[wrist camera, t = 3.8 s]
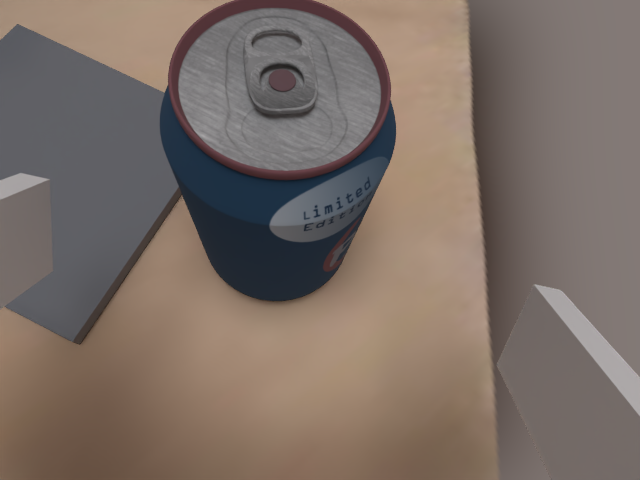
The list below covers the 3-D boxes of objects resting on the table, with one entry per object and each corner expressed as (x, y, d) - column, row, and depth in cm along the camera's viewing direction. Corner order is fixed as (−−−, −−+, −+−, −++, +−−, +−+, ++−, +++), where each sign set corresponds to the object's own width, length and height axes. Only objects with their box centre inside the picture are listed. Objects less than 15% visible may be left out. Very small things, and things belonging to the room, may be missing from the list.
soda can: (354, 298, 22) (441, 184, 11) (211, 315, 21) (142, 209, 10) (332, 174, 24) (386, -25, 13) (203, 184, 23) (140, -22, 12)
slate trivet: (-161, 219, 21) (-177, 212, 20) (25, 35, 25) (17, 23, 25) (79, 344, 20) (72, 341, 19) (225, 129, 24) (224, 120, 24)
